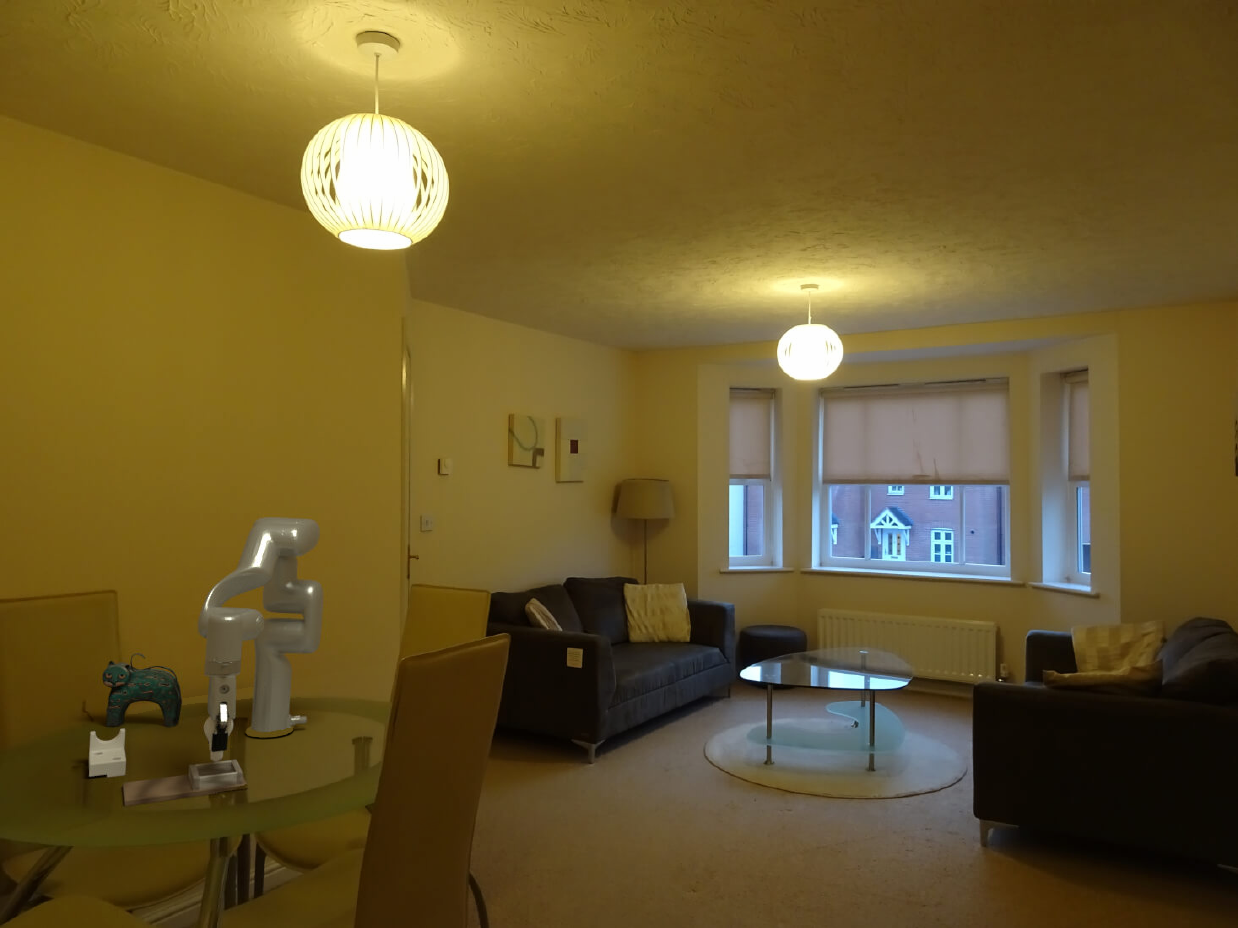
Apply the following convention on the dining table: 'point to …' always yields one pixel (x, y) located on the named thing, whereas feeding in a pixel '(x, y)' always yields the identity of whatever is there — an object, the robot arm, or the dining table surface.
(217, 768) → the wooden board with tray
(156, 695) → the ceramic cat
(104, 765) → the bracket
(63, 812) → the dining table surface
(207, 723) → the lightbulb
